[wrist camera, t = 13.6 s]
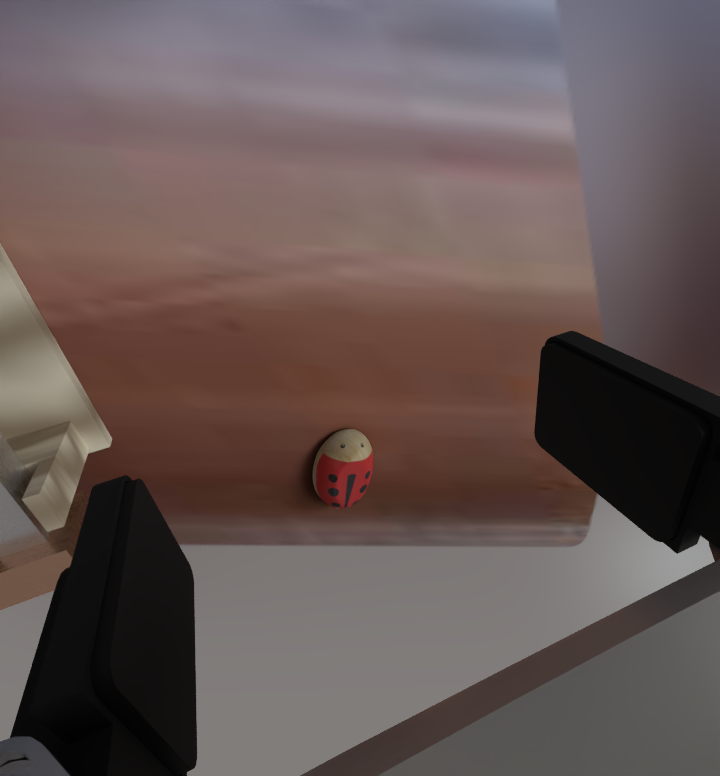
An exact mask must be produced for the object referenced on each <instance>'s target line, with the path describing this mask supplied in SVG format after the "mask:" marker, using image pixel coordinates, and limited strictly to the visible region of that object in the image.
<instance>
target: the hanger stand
mask: <svg viewBox="0 0 720 776" xmlns="http://www.w3.org/2000/svg"><path fill="white" fill-rule="evenodd" d="M0 433H1V434H2V435H3V437H4V438H5V439H6V441H7V442H8V443H9V445H10V446H11V448H12V449H13V450H14V452H15V453H16V454H17V456H18V457H19V458H20V460H21V461H22V463H23V464H24V465H25V467H26V468H27V469H28V471H29V472H30V473H31V475H32V476H33V477H32V479H31V481H30V483H29V485H28V487H27V489H26V491H25V493H24V495H23V498H22V500H23V502H24V503H25V504H26V505H27V507H28V508H29V509H30V511H31V512H32V513H33V514H34V516H35V517H36V518H37V519H38V521H39V522H40V523H41V525H42V526H43V527H44V528H45V530H46V531H47V532H49V531H52V530H55V529H58V528H61V527H64V525H65V522H66V519H67V516H68V513H69V510H70V507H71V504H72V501H73V498H74V495H75V492H76V488H77V485H78V482H79V479H80V476H81V473H82V470H83V467H84V464H85V461H86V458H87V455H88V453H91V452H95V451H98V450H101V449H104V448H108V447H110V445H111V441H112V438H111V436H110V434H109V433H108V431H107V429H106V427H105V426H104V424H103V422H102V420H101V419H100V417H99V415H98V413H97V412H96V410H95V408H94V406H93V405H92V403H91V401H90V399H89V398H88V396H87V394H86V392H85V391H84V389H83V387H82V385H81V384H80V382H79V380H78V378H77V377H76V375H75V373H74V371H73V370H72V368H71V366H70V364H69V363H68V361H67V359H66V357H65V356H64V354H63V352H62V350H61V349H60V347H59V345H58V343H57V342H56V340H55V338H54V336H53V335H52V333H51V331H50V329H49V328H48V326H47V324H46V322H45V321H44V319H43V317H42V315H41V314H40V312H39V310H38V308H37V307H36V305H35V303H34V301H33V300H32V298H31V296H30V294H29V293H28V291H27V289H26V287H25V286H24V284H23V282H22V280H21V279H20V277H19V275H18V273H17V272H16V270H15V268H14V266H13V265H12V263H11V261H10V260H9V258H8V256H7V254H6V253H5V251H4V249H3V247H2V246H1V244H0Z"/></svg>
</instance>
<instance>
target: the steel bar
mask: <svg viewBox="0 0 720 776" xmlns="http://www.w3.org/2000/svg"><path fill="white" fill-rule="evenodd" d="M32 477H33V476H32V475H31V473H30V472H29V471H28V469H27V468H26V467H25V465H24V464H23V463H22V461H21V460H20V458H19V457H18V456H17V454H16V453H15V452H14V450H13V449H12V448H11V446H10V445H9V443H8V442H7V441H6V439H5V438H4V437H3V435H2V434H1V433H0V610H1V609H4V608H7V607H10V606H13V605H15V604H18V603H21V602H23V601H26V600H29V599H32V598H34V597H37V596H40V595H43V594H45V593H48V592H51V591H54V590H55V587H56V584H57V581H58V579H59V577H60V574H61V573H62V572H63V571H64V570H65V569H66V568H68V567H70V565H71V561H72V558H73V554H74V551H75V547H76V544H77V540H78V537H79V533H80V530H81V526H82V522H83V519H84V515H85V512H86V508H87V505H88V501H89V498H88V496H87V495H86V493H85V492H84V491H83V492H80V493H77V494H75V495H74V498H73V501H72V504H71V507H70V510H69V513H68V516H67V519H66V522H65V525H64V527H61V528H58V529H55V530H52V531H49V532H47V531H46V530H45V528H44V527H43V526H42V525H41V523H40V522H39V521H38V519H37V518H36V517H35V516H34V514H33V513H32V512H31V511H30V509H29V508H28V507H27V505H26V504H25V503H24V502H23V500H22V498H23V495H24V493H25V491H26V489H27V487H28V485H29V483H30V481H31V479H32Z"/></svg>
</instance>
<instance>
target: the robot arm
mask: <svg viewBox="0 0 720 776" xmlns="http://www.w3.org/2000/svg"><path fill="white" fill-rule="evenodd" d="M535 438H536V441H537V443H538V444H539V445H540V446H541V447H542V448H543V449H544V450H545V451H546V452H548V453H549V454H550V455H551V456H553V457H554V458H555V459H556V460H557V461H559V462H560V463H561V464H562V465H564V466H565V467H566V468H567V469H568V470H570V471H571V472H572V473H573V474H574V475H576V476H577V477H578V478H579V479H581V480H582V481H583V482H584V483H585V484H587V485H588V486H589V487H590V488H592V489H593V490H594V491H595V492H596V493H598V494H599V495H600V496H601V497H602V498H604V499H605V500H606V501H607V502H609V503H610V504H611V505H612V506H613V507H615V508H616V509H617V510H618V511H620V512H621V513H622V514H623V515H625V516H626V517H627V518H628V519H629V520H630V521H632V522H633V523H634V524H635V525H637V526H638V527H639V528H640V529H642V530H643V531H644V532H645V533H646V534H648V535H649V536H650V537H651V538H653V539H654V540H656V541H659V542H663V543H665V544H666V545H667V546H668V547H670V548H671V549H672V550H673V551H674V552H676V553H677V554H678V553H680V552H682V551H684V550H686V549H688V548H690V547H692V546H694V545H696V544H697V542H698V540H699V537H700V535H701V536H702V537H704V538H705V539H706V540H708V541H709V546H710V549H711V551H712V554H713V557H714V560H715V562H713V563H712V564H709V565H707V566H705V567H703V568H702V569H699V570H697V571H695V572H694V573H692V574H689V575H688V576H686V577H684V578H682V579H680V580H678V581H676V582H674V583H672V584H670V585H668V586H666V587H664V588H662V589H660V590H658V591H656V592H654V593H652V594H650V595H648V596H646V597H644V598H642V599H640V600H638V601H636V602H634V603H632V604H630V605H629V606H627V607H624V608H622V609H620V610H619V611H617V612H615V613H613V614H611V615H609V616H607V617H605V618H603V619H601V620H599V621H597V622H595V623H593V624H591V625H589V626H587V627H585V628H583V629H581V630H579V631H578V632H575V633H574V634H572V635H570V636H568V637H566V638H564V639H562V640H560V641H558V642H556V643H554V644H552V645H550V646H548V647H546V648H544V649H542V650H540V651H539V652H536V653H534V654H533V655H531V656H529V657H527V658H525V659H523V660H521V661H519V662H517V663H515V664H513V665H511V666H509V667H507V668H505V669H503V670H502V671H500V672H497V673H496V674H494V675H492V676H490V677H488V678H486V679H484V680H482V681H480V682H478V683H476V684H475V685H472V686H470V687H469V688H467V689H465V690H463V691H461V692H459V693H457V694H455V695H453V696H451V697H449V698H447V699H445V700H443V701H442V702H440V703H438V704H436V705H434V706H432V707H430V708H428V709H426V710H424V711H422V712H420V713H419V714H416V715H415V716H413V717H411V718H409V719H407V720H405V721H403V722H401V723H399V724H397V725H395V726H394V727H391V728H389V729H387V730H386V731H384V732H382V733H380V734H378V735H376V736H374V737H372V738H370V739H368V740H366V741H364V742H363V743H360V744H359V745H357V746H355V747H353V748H351V749H349V750H347V751H345V752H343V753H342V754H339V755H338V756H336V757H334V758H332V759H330V760H328V761H327V762H325V763H323V764H321V765H319V766H317V767H315V768H314V769H312V770H310V771H308V772H306V773H305V774H303V775H301V776H720V397H719V396H717V395H715V394H713V393H710V392H708V391H706V390H704V389H701V388H699V387H697V386H695V385H693V384H690V383H688V382H686V381H684V380H681V379H679V378H677V377H675V376H673V375H670V374H668V373H666V372H664V371H662V370H659V369H657V368H655V367H653V366H650V365H648V364H646V363H644V362H641V361H640V360H637V359H635V358H633V357H630V356H628V355H626V354H624V353H622V352H619V351H617V350H615V349H613V348H611V347H608V346H606V345H604V344H602V343H600V342H597V341H595V340H593V339H591V338H589V337H586V336H584V335H582V334H580V333H578V332H574V331H569V332H566V333H563V334H559V335H556V336H553V337H550V338H549V339H548V340H547V341H546V343H545V346H544V347H543V348H542V350H541V358H540V370H539V383H538V395H537V408H536V420H535ZM194 619H195V617H194V579H193V574H192V570H191V567H190V564H189V562H188V561H187V559H186V557H185V555H184V554H183V552H182V550H181V548H180V546H179V545H178V543H177V541H176V539H175V537H174V536H173V534H172V532H171V530H170V529H169V527H168V525H167V523H166V521H165V520H164V518H163V516H162V514H161V512H160V511H159V509H158V507H157V505H156V504H155V502H154V500H153V498H152V496H151V495H150V493H149V491H148V489H147V488H146V486H145V484H144V482H143V481H142V480H141V479H136V480H133V481H132V480H131V478H130V477H128V476H126V475H125V476H122V477H119V478H116V479H112V480H109V481H106V482H103V483H100V484H97V485H95V486H93V488H92V491H91V494H90V498H89V501H88V505H87V508H86V512H85V515H84V519H83V522H82V526H81V530H80V533H79V537H78V540H77V544H76V547H75V551H74V554H73V558H72V561H71V565H70V567H68V568H66V569H65V570H64V571H63V572H62V573H61V574H60V577H59V579H58V581H57V584H56V587H55V591H54V594H53V597H52V601H51V604H50V608H49V611H48V614H47V617H46V620H45V624H44V627H43V630H42V634H41V637H40V640H39V644H38V647H37V650H36V653H35V657H34V660H33V663H32V667H31V670H30V674H29V677H28V680H27V683H26V687H25V690H24V693H23V697H22V700H21V703H20V706H19V710H18V713H17V716H16V720H15V723H14V726H13V730H12V733H11V736H10V738H9V739H7V740H3V741H1V742H0V776H187V772H188V771H190V770H192V769H194V768H195V765H196V760H197V729H196V728H197V726H196V671H195V620H194Z"/></svg>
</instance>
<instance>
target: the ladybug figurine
mask: <svg viewBox="0 0 720 776" xmlns="http://www.w3.org/2000/svg"><path fill="white" fill-rule="evenodd" d="M372 471H373V452H372V448H371V445H370V443H369V441H368V439H367V438H366V437H365V436H364V435H363V434H362V433H361V432H359V431H357V430H354V429H344V430H341V431H338V432H336V433H334V434H333V435H332V436H330V437H329V438H328V439H327V440H326V441H325V442H324V444H323V445H322V446H321V448H320V449H319V451H318V453H317V456H316V458H315V461H314V466H313V475H312V476H313V485H314V488H315V491H316V493H317V494H318V496H319V497H320V498H321V499H322V500H323V501H324V502H325V503H327V504H328V505H330V506H332V507H335V508H337V509H339V508H348V507H351V506H352V505H354V504H355V503H356V502H358V501H359V499H360V498H361V497H362V495H363V494H364V492H365V491H366V489H367V487H368V484H369V482H370V479H371V476H372Z"/></svg>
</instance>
